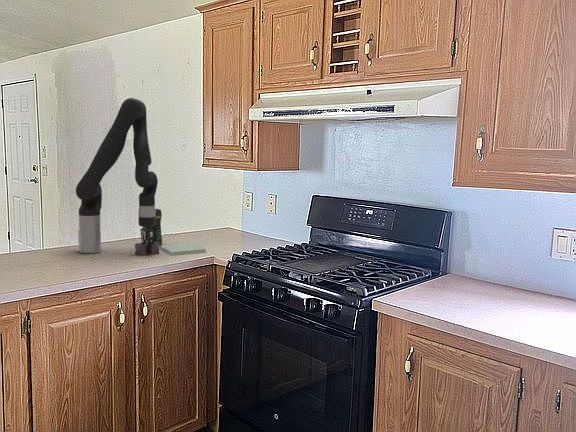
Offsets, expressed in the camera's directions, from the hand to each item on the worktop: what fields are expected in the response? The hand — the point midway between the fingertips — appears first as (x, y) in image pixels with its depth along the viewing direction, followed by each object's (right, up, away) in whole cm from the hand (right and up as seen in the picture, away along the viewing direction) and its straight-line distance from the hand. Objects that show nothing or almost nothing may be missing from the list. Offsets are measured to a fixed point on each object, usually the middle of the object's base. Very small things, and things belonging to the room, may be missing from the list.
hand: (147, 252), depth 241 cm
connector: (-1, -1, -1) cm, 1 cm away
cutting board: (+14, 0, +9) cm, 17 cm away
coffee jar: (-3, +2, +20) cm, 21 cm away
